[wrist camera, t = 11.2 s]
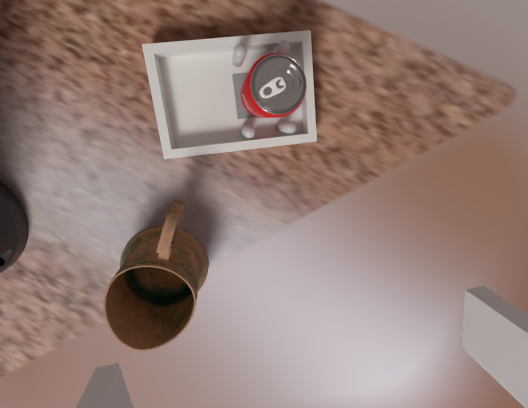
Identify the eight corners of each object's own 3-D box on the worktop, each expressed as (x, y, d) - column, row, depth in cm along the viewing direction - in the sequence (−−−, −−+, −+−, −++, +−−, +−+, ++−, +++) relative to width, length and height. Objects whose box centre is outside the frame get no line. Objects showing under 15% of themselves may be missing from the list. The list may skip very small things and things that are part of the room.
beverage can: (290, 104, 38) (319, 98, 26) (253, 125, 38) (266, 128, 26) (270, 63, 36) (292, 38, 25) (232, 85, 36) (235, 70, 25)
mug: (230, 197, 41) (233, 227, 30) (195, 310, 45) (186, 376, 33) (142, 172, 39) (108, 194, 27) (113, 293, 43) (72, 357, 31)
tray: (169, 155, 39) (157, 163, 32) (149, 51, 35) (132, 35, 29) (309, 139, 40) (326, 143, 34) (303, 37, 37) (320, 19, 30)
